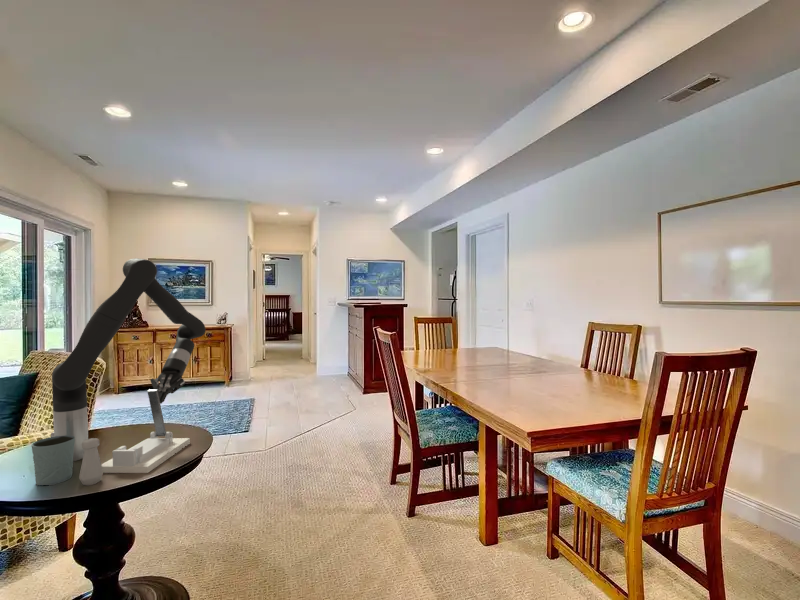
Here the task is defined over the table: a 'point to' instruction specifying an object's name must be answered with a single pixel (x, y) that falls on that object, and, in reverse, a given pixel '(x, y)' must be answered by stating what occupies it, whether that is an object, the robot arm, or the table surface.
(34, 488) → the table surface
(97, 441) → the salt shaker
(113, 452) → the stand
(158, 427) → the bar
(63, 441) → the pale green planter pot
